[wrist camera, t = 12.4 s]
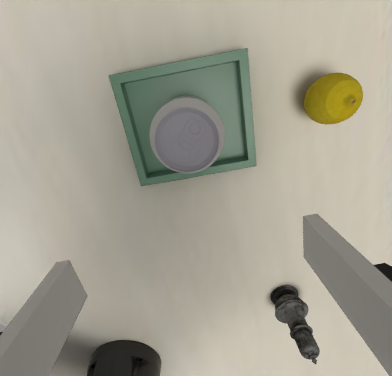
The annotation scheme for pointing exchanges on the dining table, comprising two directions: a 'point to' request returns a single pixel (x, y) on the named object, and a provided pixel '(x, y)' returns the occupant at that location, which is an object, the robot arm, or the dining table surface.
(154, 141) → the beverage can
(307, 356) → the salt shaker
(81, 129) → the dining table surface
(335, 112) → the fruit
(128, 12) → the dining table surface
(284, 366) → the dining table surface
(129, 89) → the tray
